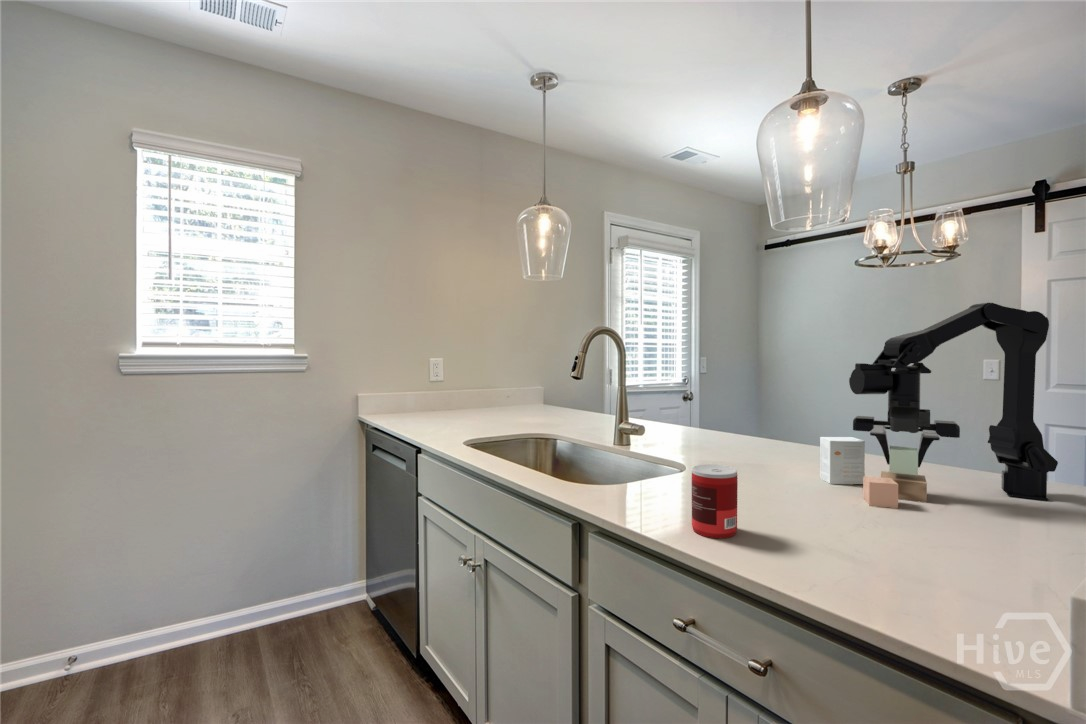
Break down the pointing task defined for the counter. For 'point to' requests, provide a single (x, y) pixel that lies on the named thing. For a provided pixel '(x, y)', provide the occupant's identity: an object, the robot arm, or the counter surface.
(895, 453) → the sage cube
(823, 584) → the counter surface
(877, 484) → the terracotta cube
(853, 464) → the small box
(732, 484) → the canned food
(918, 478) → the walnut block
